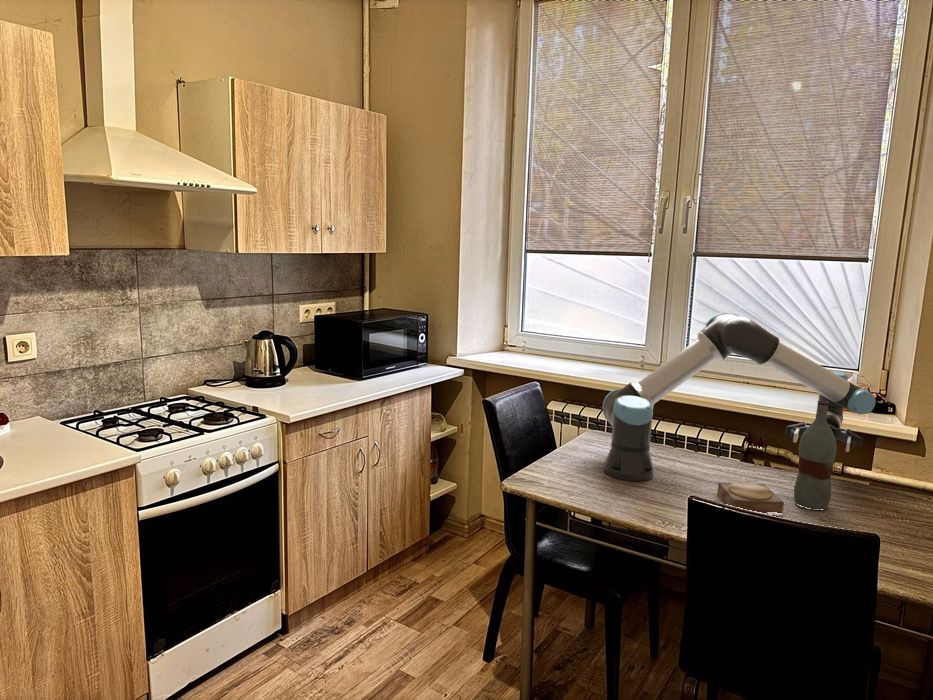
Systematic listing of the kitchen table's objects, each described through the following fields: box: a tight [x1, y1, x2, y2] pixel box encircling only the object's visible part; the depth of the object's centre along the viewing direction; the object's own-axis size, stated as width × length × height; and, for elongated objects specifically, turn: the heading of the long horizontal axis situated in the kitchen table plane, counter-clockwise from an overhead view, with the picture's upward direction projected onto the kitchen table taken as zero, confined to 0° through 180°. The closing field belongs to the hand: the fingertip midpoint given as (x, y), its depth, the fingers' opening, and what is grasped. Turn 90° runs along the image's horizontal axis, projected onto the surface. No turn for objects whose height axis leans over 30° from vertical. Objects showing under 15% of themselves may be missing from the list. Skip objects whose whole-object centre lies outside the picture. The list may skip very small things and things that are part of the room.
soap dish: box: [716, 481, 785, 514], centre depth 184 cm, size 13×13×5 cm
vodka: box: [793, 399, 838, 510], centre depth 183 cm, size 9×9×30 cm
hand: (820, 442), depth 191 cm, fingers open, 13 cm apart
